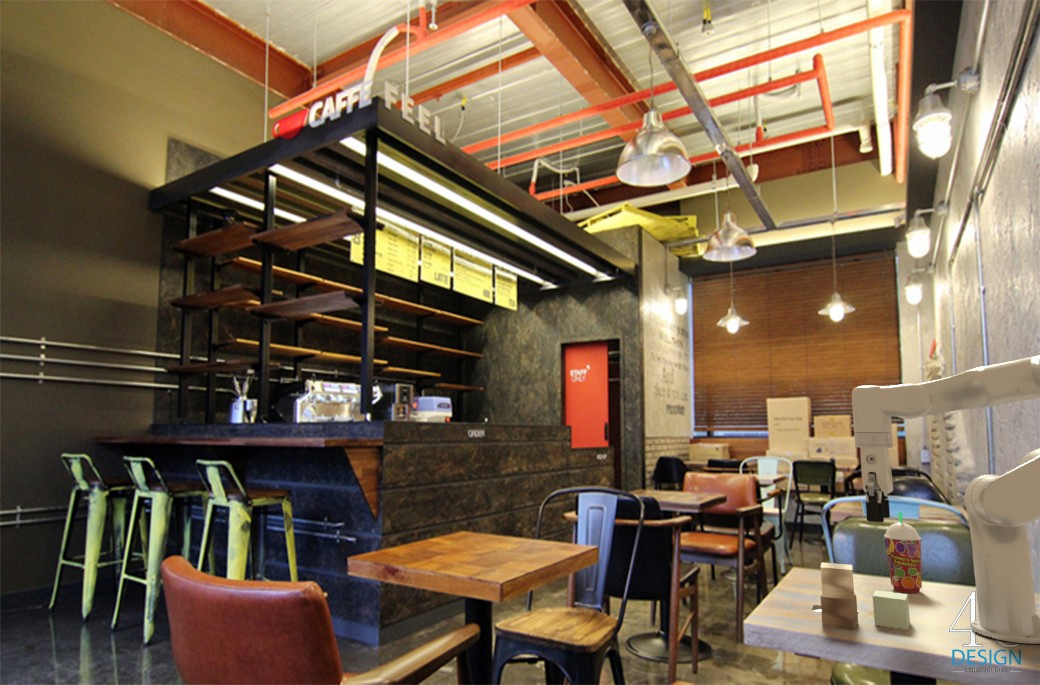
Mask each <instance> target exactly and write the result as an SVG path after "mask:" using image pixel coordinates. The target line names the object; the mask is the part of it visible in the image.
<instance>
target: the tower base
mask: <svg viewBox="0 0 1040 685" xmlns="http://www.w3.org/2000/svg"><path fill="white" fill-rule="evenodd" d="M857 600H858V599H857V594H856V593H854V600H848V599H839V598H829V597H822V594H821V595H820V606H821V624H822V625H821V626H823V627H828V628H835V629H842V630H848V631H855V630H856V628H857V627H856V626H858V625H859V612H857V610H858V603H857V602H858V601H857Z"/></svg>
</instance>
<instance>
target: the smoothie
mask: <svg viewBox="0 0 1040 685" xmlns="http://www.w3.org/2000/svg"><path fill="white" fill-rule="evenodd" d="M898 517H899V518H898V519H899V520H898V522H894V523H892V524H890V526H888V528H887V529H886V531H885V534H884V535H883V537H884V544H885V550H886V557H887V564H888V565H887V566H888V570H889V571H888V572H889V578H890V585H892V588H893V590H894V591H895V592H897V593H901V594H912V593H913V594H919V593H921V592H920V591H921V589H922V587H923V581H922V579H923V577H922V537H921V536H920V534H919V533H918V531H917V530H916V528H914V527H913V526H912V525H911V524H908V523H906V522H903V513H902V511H898Z"/></svg>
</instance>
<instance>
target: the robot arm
mask: <svg viewBox="0 0 1040 685" xmlns="http://www.w3.org/2000/svg"><path fill="white" fill-rule="evenodd" d="M851 391H852V392H851V404H852V419H853V421H852V422H853V434H854V435H853V437H854V438H853V439H854V447H855V448H860V466H861V479H862V480H861V481H862V482H861V483H862V489H863V491H864V492H865V513H866V521H867V522H872V523H884V522H885V519H890V517H891V512H890V499H889V494H890V493H892V492H893V491H894V484H893V474H892V465H891V456H890V451H889V449H893V448H894V440H893V426H892V417H897V418H900V419H903V420H912V419H918V418H923V417H927V416H928V417H929V416H934V415H937V414H938V415H939V414H943V413H948V412H956V411H961V410H964V411H965V410H974V409H977V410H978V409H985V408H990V407H991V408H992V407H995V406H1001V405H1006V404H1011V403H1018V402H1023V401H1029V400H1035V399H1038V398H1040V354H1039V355H1034V356H1029V357H1023V358H1020V359H1016V360H1011V361H1010V360H1009V361H1005V362H1000V363H994V364H991V365H990V364H989V365H986V366H979V367H975V368H973V369H969V370H965V371H963V372H961V373H958V374H955V375H951V376H948V377H944V378H941V379H940V378H939V379H936V380H935V379H934V380H932V381H931V380H930V381H927V382H921V383H905V384H897V385H889V386H888V385H886V386H883V385H860V386H856V387H854V388H853V389H852V390H851ZM964 502H965V504H964V505H965V509H966V514H967V519H968V525H969V531H970V538H971V547H972V560H973V570H974V571H973V572H974V579H975V590H976V592H975V593H976V601H977V609H978V619H979V620H974V621H972V622H970V629H971V630H972V631H973V632H974V633H976V632H977V633H976V634H978V633H979V634H978V635H980V634H982V635H981V636H983V635H986V636H990V637H994V638H996V639H995V640H998V641H1005V642H1010V643H1017V644H1028V645H1029V644H1030V645H1040V615H1039V612H1038V611H1037V602H1036V596H1035V586H1034V578H1033V570H1032V568H1033V567H1032V560H1031V549H1030V542H1029V536H1028V531H1027V526H1026V525H1028V524H1031V523H1033V522H1035V521H1037V520H1039V519H1040V448H1037V449H1035V450H1033V451H1031V452H1028V453H1027V454H1026V455H1024V456H1023V457H1022V458H1021V459H1020V461H1019V463H1018V466H1016V467H1014V468H1013V469H1011V470H1009V471H1007V472H1006V473H1003V474H1001V475H997V474H982V475H980V476H978V477H975V478H974V479H972V481H971V482H969V484H968V485H967V487H966V489H965V493H964ZM986 636H985V637H986Z"/></svg>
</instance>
